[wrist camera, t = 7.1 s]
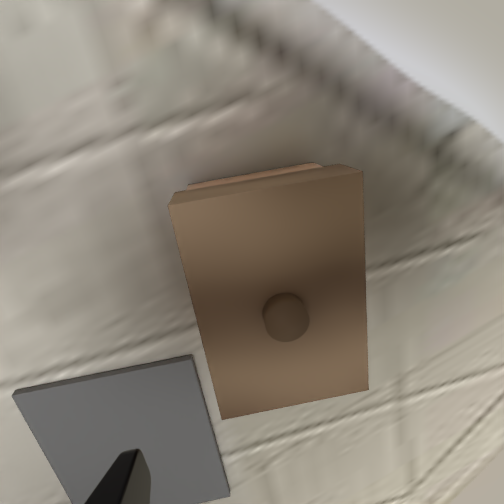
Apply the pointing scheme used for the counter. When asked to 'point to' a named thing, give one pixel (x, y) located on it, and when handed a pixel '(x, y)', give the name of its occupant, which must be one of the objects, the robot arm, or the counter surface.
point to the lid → (278, 286)
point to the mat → (129, 430)
